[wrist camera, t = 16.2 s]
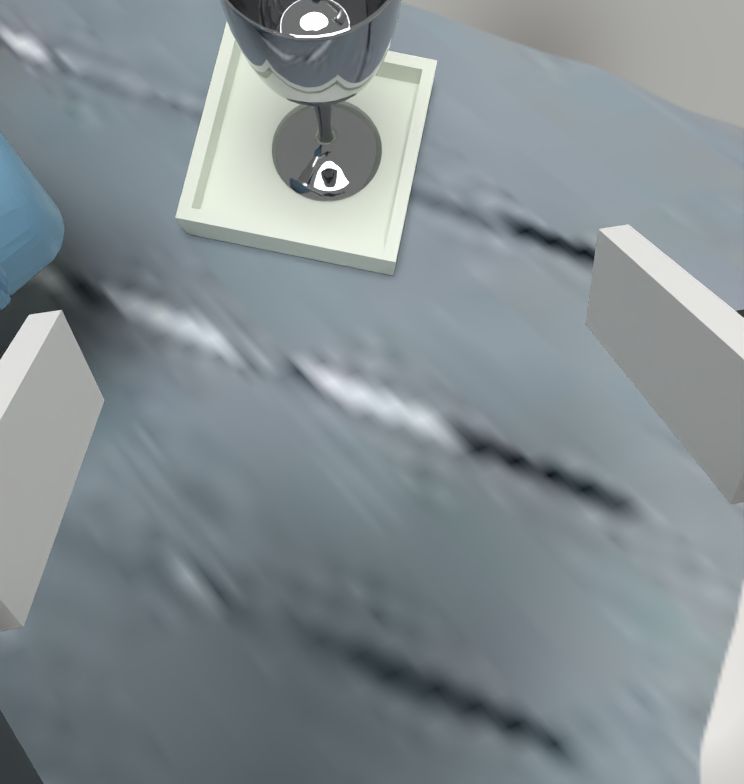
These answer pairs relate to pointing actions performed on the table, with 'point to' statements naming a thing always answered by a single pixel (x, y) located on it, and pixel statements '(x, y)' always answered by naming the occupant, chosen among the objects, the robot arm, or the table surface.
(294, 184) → the wine glass
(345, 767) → the table surface
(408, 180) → the white tray
